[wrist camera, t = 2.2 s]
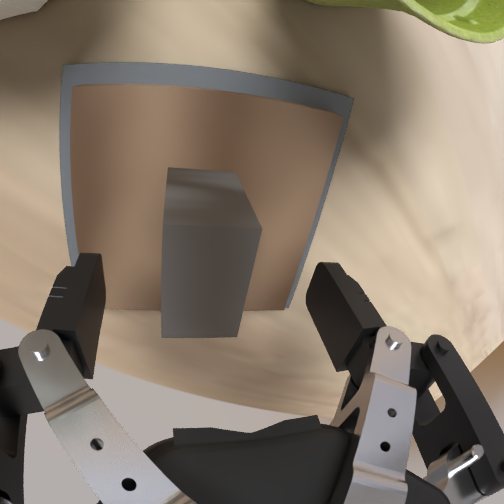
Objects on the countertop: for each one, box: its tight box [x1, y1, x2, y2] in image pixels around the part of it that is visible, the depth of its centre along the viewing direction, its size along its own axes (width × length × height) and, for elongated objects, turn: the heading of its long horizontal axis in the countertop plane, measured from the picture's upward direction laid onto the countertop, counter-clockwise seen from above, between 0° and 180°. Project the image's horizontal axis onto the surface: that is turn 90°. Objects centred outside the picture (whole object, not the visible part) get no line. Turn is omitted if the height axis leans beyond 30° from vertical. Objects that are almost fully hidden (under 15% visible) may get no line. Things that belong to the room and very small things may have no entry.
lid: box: [70, 84, 344, 338], centre depth 13 cm, size 12×12×6 cm
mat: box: [60, 62, 354, 308], centre depth 16 cm, size 14×14×1 cm
